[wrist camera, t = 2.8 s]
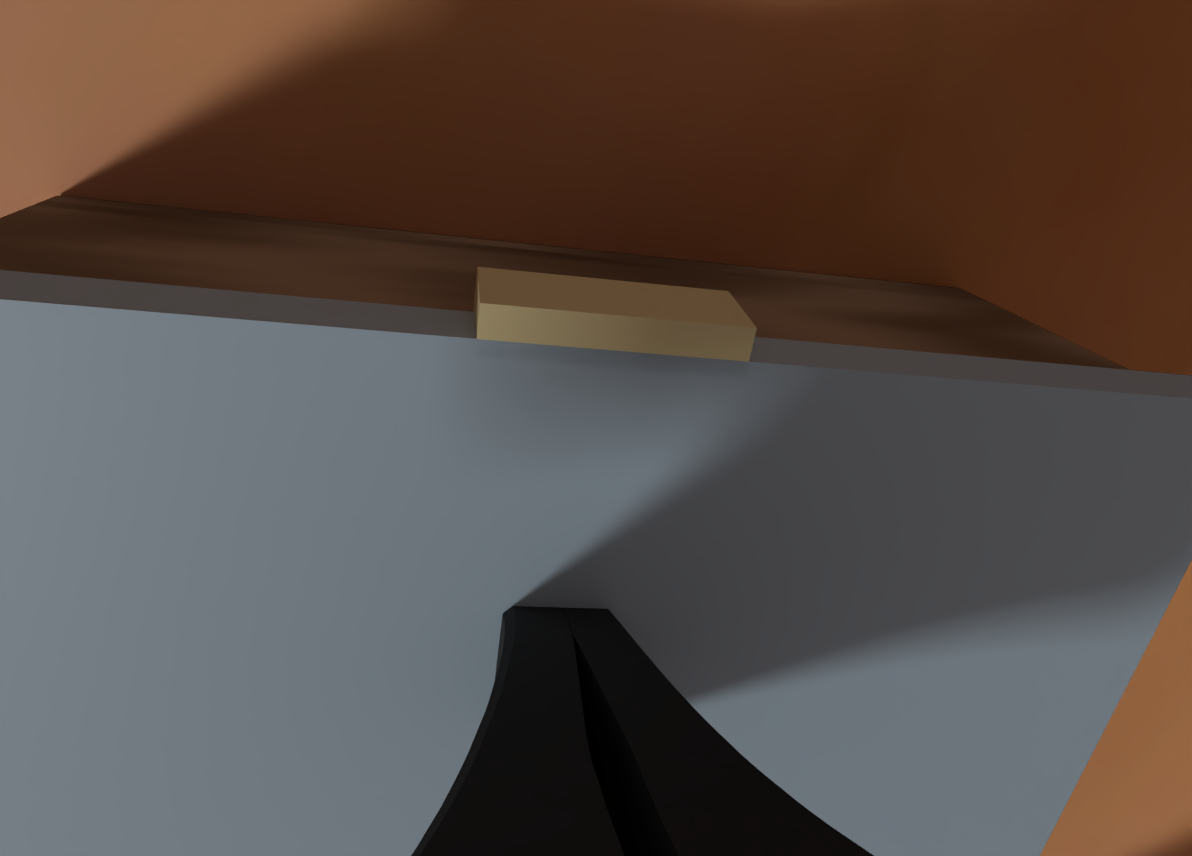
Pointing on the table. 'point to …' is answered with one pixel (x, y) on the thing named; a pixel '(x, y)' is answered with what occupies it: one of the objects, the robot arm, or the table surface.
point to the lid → (550, 556)
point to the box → (449, 268)
